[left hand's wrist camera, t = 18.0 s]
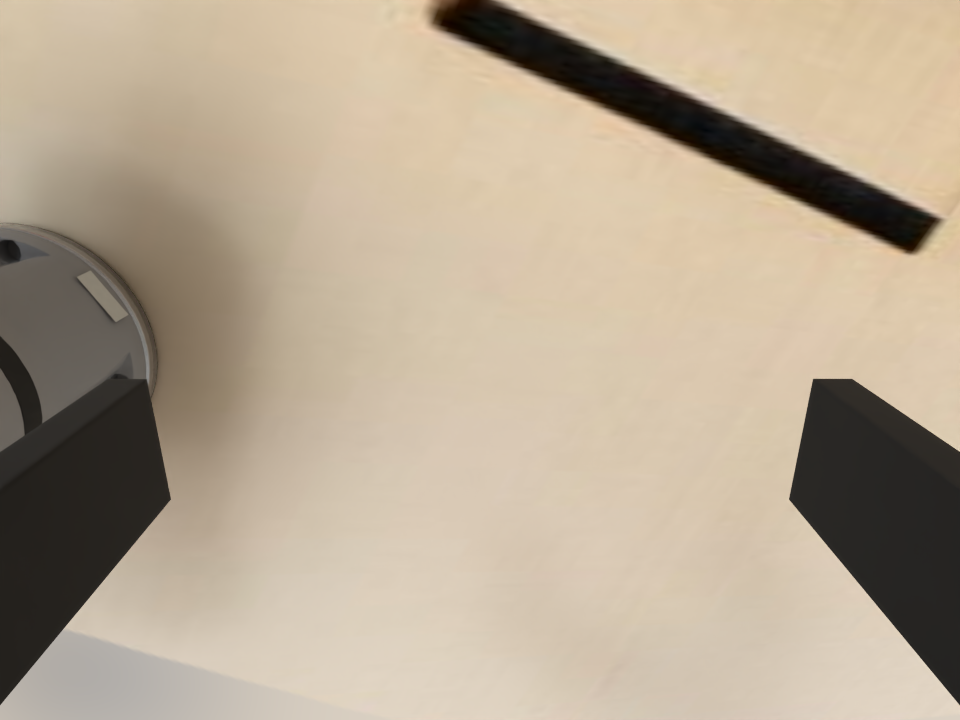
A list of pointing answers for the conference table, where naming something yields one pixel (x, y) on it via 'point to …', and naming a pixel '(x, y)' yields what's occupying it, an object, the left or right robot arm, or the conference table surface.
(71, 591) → the left robot arm
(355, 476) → the conference table surface
